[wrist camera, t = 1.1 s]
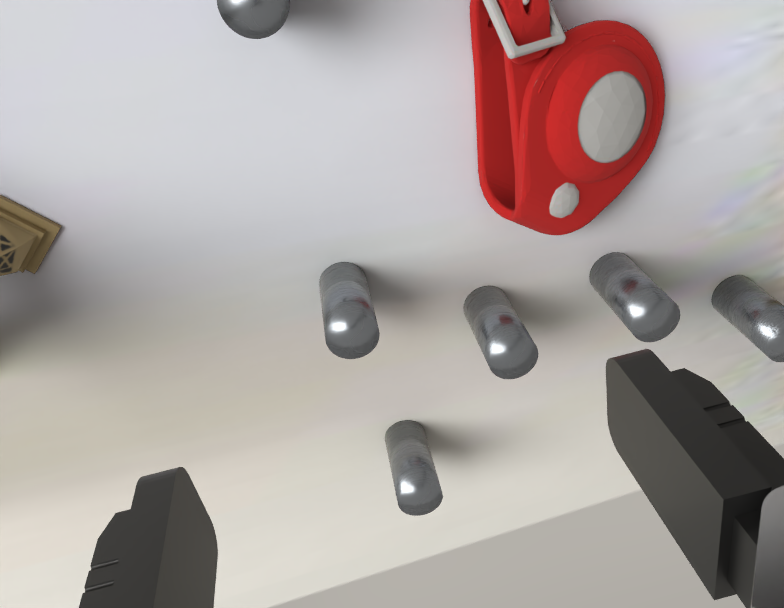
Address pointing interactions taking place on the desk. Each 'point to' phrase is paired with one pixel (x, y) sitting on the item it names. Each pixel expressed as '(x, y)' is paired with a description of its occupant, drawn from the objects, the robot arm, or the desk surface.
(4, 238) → the eiffel tower
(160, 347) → the desk surface
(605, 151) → the tracker holder
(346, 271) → the spacer posts
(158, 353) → the desk surface
